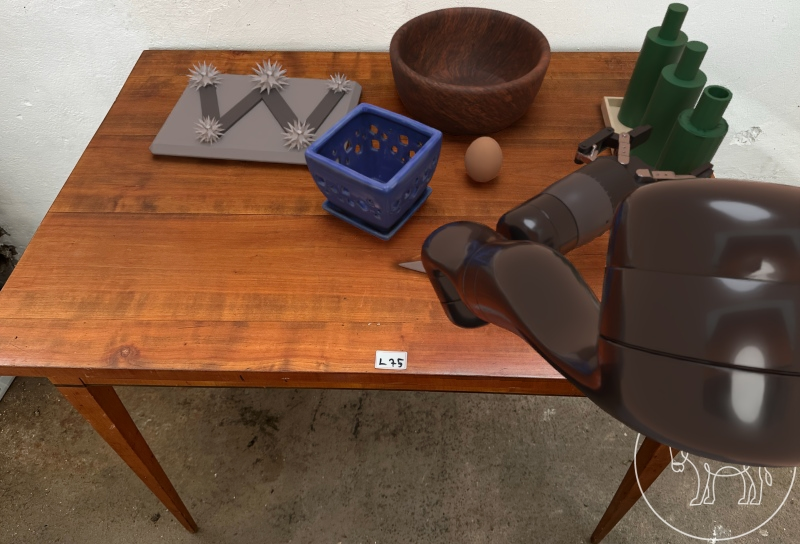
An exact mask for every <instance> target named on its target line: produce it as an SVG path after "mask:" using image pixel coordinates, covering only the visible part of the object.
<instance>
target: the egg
mask: <svg viewBox="0 0 800 544" xmlns="http://www.w3.org/2000/svg"><path fill="white" fill-rule="evenodd" d="M503 161H504V157H503V151H502V149H501V147H500V145H499V143H498V142H497V141H496V140H495V139H494V138H492V137H490V136H481V137H478V138H476V139H475V140H473V141H472V142H471V144H470V145H469V146H468V147H467V149H466V152H465V154H464V161H463V162H464V163H463V165H464V169H465V172H466V174H467V175H468V176H469V177H470V178H471V179H472V180H473V181H476V182H478V183H487V182H490V181H491V180H493V179H495V178H496V177H497V176H498V174H499V173H500V171H501V170H502V167H503Z"/></svg>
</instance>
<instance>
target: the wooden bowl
mask: <svg viewBox="0 0 800 544" xmlns="http://www.w3.org/2000/svg"><path fill="white" fill-rule="evenodd" d="M388 47H389V49H388V51H389V52H388V53H389V61H390V68H391V73H392V78H393V82H394V85H395V88H396V91H397V92H396V93H397V94H398V96H399V99H400V101H401V102H402V104H403V106H404V108H405V109H406V110H407V111H408V113H409V114H410V115H411V116H412V117H413V118H414V120H415V121H417V122H420V123H422V124H424V125H427V126H429V127H431V128H434V129H436V130H439V131H440V132H441V133H442V134H446V135H450V136H451V135H452V136H457V137H477V136H485V135H489V134H493V133H497V132H499V131H502V130H504V129H506V128H508V127H510V126H512V125H513V124H514V123H516V122H517V121H518V120H519V119H521V117H522V116H523V115H524V114H526V112H528V110H529V108H530V107H531V106H532V104H533V103H534V101H535V99H536V98H537V96H538V94H539V91H540V90H541V88H542V85H543V83H544V80H545V77H546V74H547V72H548V68H549V65H550V62H551V59H552V58H551V57H552V51H551V49H552V48H551V45H550V43H549V40H548V38H547V36H546V35H545V34H544V33H543V31H541V30H540V29H539V28H538V27H537V26H535V25H534V24H532V22H529V21H528V20H526V19H524V18H522V17H519V16H517V15H515V14H512V13H509V12H506V11H502V10H498V9H493V8H486V7H479V6H477V7H476V6H455V7H446V8H438V9H435V10H431V11H427V12H424V13H421V14H419V15H417V16H414V17H413V18H410V19H409V20H407V21H406V22H405V23H403V24H402V25H400V26H399V27H398V29H397V30H395V32H394V33H393V35H392V36H391V39H390V43H389V46H388Z"/></svg>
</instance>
